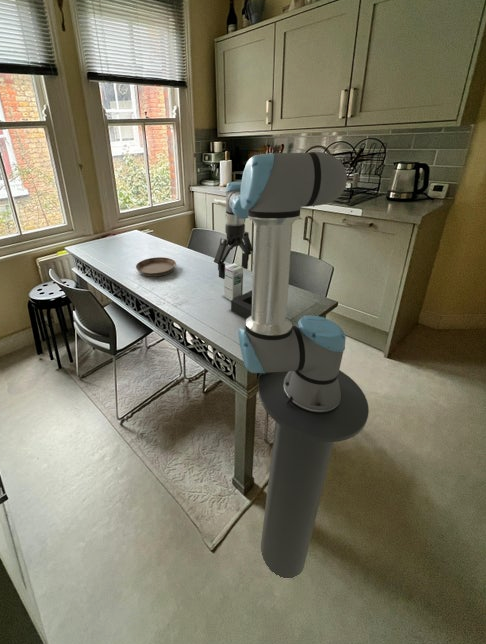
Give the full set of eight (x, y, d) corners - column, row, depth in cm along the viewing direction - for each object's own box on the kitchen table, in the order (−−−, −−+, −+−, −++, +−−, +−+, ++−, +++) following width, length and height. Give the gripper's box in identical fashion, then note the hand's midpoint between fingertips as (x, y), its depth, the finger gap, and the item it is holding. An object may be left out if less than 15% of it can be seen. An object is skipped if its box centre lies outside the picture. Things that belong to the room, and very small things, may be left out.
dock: (257, 325, 116) (258, 314, 114) (230, 311, 126) (231, 300, 124) (279, 312, 124) (280, 301, 122) (253, 299, 133) (253, 289, 131)
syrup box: (232, 301, 132) (233, 270, 126) (223, 296, 137) (223, 265, 131) (242, 297, 135) (243, 266, 129) (232, 292, 140) (233, 262, 134)
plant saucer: (128, 270, 165) (128, 264, 163) (160, 259, 177) (159, 253, 176) (151, 282, 151) (151, 276, 149) (184, 270, 163) (184, 264, 162)
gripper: (249, 215, 132) (246, 261, 141) (204, 228, 118) (205, 278, 127) (263, 218, 126) (260, 267, 136) (218, 232, 113) (218, 285, 122)
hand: (233, 272), depth 131 cm, fingers open, 13 cm apart
